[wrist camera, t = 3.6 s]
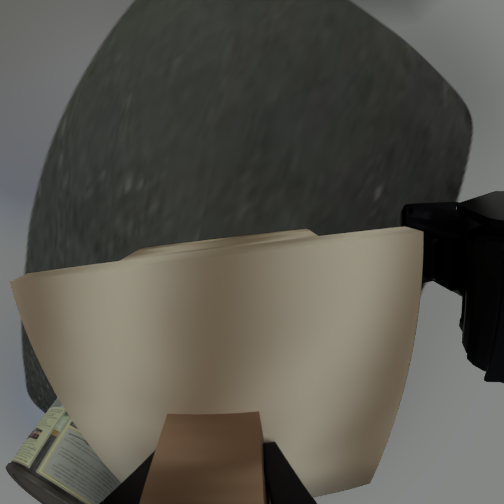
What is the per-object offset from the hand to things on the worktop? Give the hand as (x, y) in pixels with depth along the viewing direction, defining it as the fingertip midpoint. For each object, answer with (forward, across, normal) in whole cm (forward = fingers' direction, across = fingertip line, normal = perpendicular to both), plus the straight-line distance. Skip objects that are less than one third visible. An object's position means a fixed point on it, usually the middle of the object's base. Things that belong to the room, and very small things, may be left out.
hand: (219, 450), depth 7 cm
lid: (+2, 0, 0) cm, 2 cm away
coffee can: (+13, +18, +13) cm, 25 cm away
